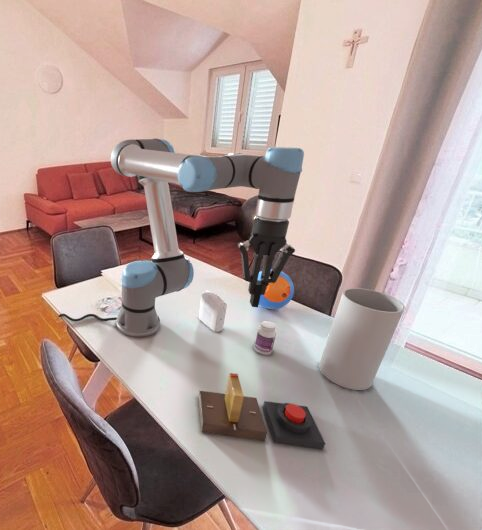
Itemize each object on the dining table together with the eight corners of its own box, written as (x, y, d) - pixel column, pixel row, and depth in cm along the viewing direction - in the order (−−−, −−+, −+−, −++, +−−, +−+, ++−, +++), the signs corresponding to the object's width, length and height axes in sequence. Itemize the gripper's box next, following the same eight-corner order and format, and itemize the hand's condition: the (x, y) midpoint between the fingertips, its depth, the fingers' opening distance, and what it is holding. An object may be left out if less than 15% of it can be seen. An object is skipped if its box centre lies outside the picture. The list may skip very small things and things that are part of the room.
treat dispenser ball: (283, 298, 130) (291, 265, 124) (294, 318, 116) (304, 282, 110) (243, 294, 133) (250, 261, 127) (250, 313, 120) (257, 277, 114)
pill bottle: (273, 356, 97) (280, 330, 93) (255, 354, 98) (261, 328, 94) (269, 345, 102) (275, 320, 98) (252, 343, 103) (257, 318, 99)
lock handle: (238, 422, 72) (244, 395, 69) (229, 421, 72) (234, 394, 69) (232, 398, 78) (238, 373, 75) (224, 397, 78) (229, 372, 75)
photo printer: (224, 330, 110) (229, 299, 105) (214, 333, 108) (219, 302, 103) (205, 315, 119) (209, 286, 114) (196, 318, 117) (200, 289, 112)
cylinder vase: (361, 365, 93) (391, 292, 83) (378, 396, 83) (415, 316, 73) (313, 356, 97) (336, 285, 87) (324, 385, 86) (352, 307, 76)
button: (287, 422, 71) (289, 416, 71) (282, 408, 75) (283, 402, 74) (306, 424, 71) (308, 419, 70) (300, 410, 74) (301, 405, 74)
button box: (274, 443, 70) (278, 430, 69) (262, 407, 79) (265, 395, 78) (322, 450, 69) (327, 437, 67) (305, 412, 78) (309, 401, 76)
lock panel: (201, 434, 72) (203, 425, 71) (197, 397, 83) (199, 388, 81) (265, 444, 70) (268, 434, 69) (253, 404, 80) (256, 395, 79)
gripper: (295, 214, 76) (275, 299, 85) (239, 212, 78) (225, 295, 87) (308, 223, 69) (284, 314, 78) (246, 220, 71) (230, 309, 80)
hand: (253, 304), depth 83 cm, fingers closed
